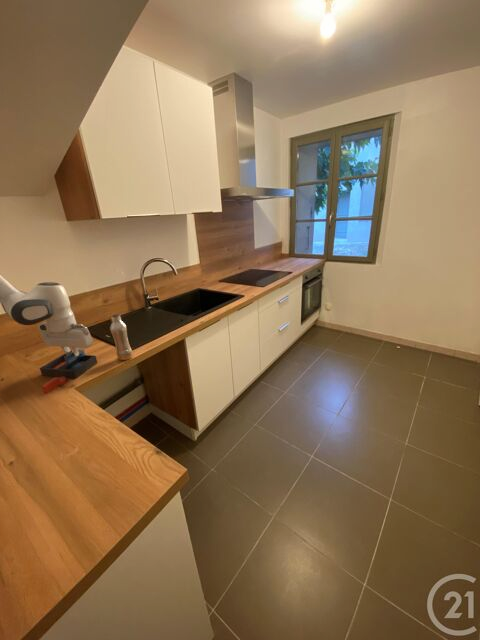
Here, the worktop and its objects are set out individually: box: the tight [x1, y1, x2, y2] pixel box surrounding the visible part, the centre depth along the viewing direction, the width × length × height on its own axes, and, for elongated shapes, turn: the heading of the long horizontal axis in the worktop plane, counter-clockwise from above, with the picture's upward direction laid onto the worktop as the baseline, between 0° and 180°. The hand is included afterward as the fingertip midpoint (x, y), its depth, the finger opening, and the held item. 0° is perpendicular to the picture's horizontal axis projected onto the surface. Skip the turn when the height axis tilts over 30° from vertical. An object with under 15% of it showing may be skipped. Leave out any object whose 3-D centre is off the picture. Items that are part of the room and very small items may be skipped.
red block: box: [41, 377, 67, 394], centre depth 97 cm, size 8×4×3 cm, turn 168°
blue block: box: [64, 349, 86, 364], centre depth 106 cm, size 8×4×3 cm, turn 167°
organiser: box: [39, 353, 98, 380], centre depth 108 cm, size 16×12×4 cm
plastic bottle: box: [109, 313, 133, 361], centre depth 112 cm, size 6×7×20 cm
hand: (73, 355), depth 105 cm, fingers closed on blue block
